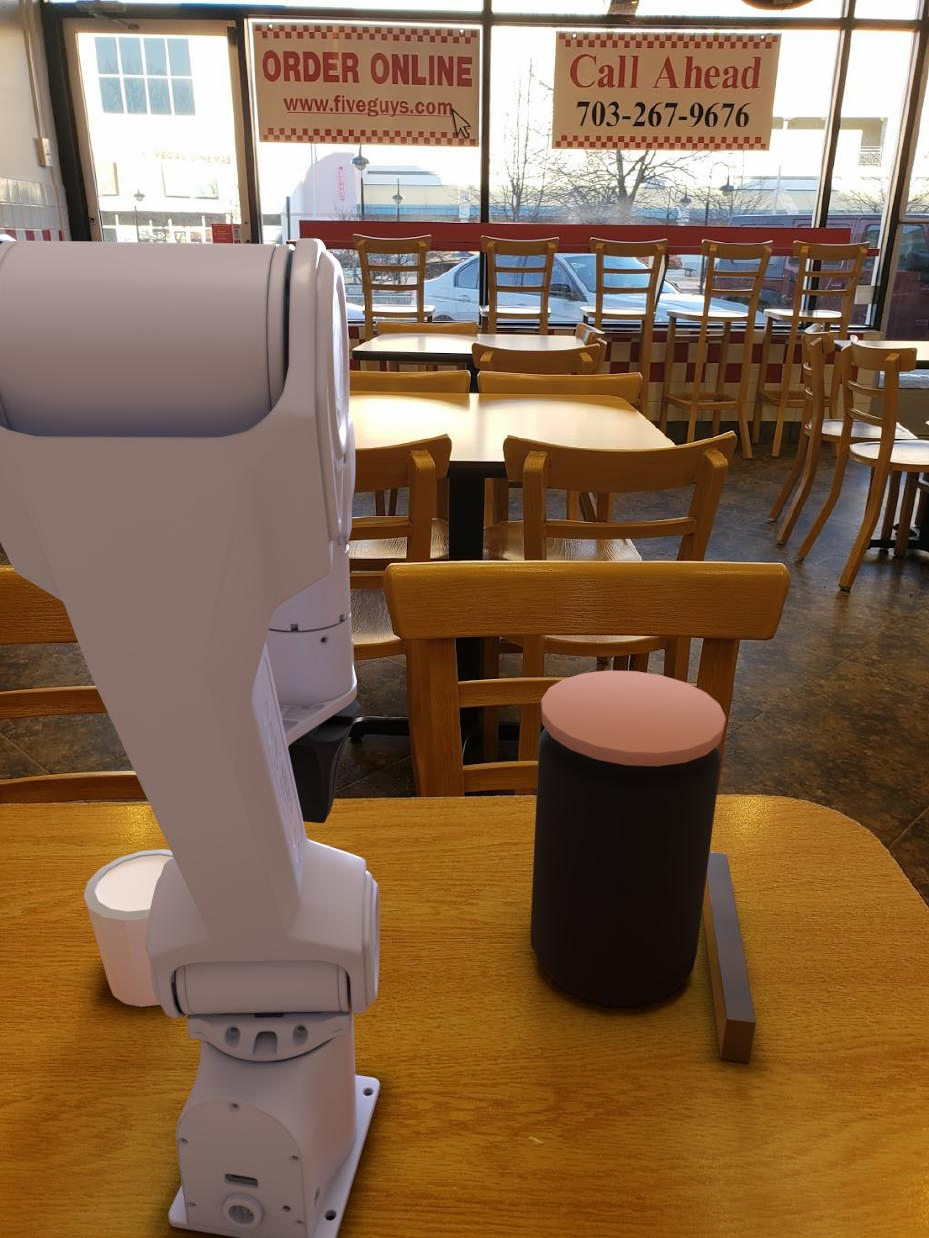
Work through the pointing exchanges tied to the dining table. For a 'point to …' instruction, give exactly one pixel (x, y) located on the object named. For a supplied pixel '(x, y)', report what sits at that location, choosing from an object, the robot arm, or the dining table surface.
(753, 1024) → the bar
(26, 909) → the dining table surface
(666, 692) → the coffee jar
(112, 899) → the white cup
